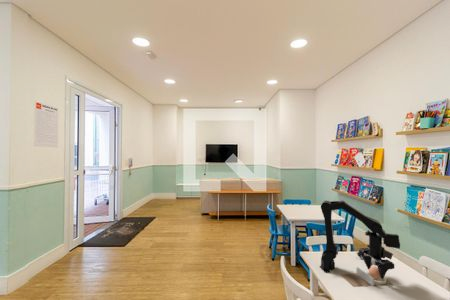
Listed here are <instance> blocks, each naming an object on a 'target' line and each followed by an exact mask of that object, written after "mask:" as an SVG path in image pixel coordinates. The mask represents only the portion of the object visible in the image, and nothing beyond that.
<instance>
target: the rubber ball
mask: <svg viewBox="0 0 450 300" xmlns="http://www.w3.org/2000/svg"><path fill="white" fill-rule="evenodd" d="M368 272H369V274H370V276H371V277H372V278H374V279H380V278H381V277H380V274H379V270H378V266H371V268H370V269H368Z"/></svg>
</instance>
